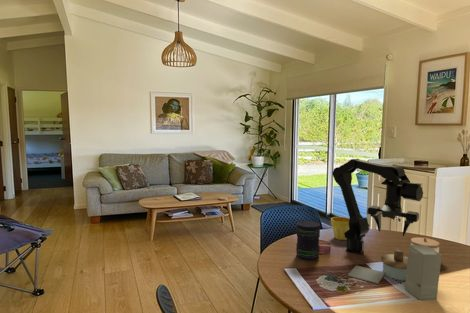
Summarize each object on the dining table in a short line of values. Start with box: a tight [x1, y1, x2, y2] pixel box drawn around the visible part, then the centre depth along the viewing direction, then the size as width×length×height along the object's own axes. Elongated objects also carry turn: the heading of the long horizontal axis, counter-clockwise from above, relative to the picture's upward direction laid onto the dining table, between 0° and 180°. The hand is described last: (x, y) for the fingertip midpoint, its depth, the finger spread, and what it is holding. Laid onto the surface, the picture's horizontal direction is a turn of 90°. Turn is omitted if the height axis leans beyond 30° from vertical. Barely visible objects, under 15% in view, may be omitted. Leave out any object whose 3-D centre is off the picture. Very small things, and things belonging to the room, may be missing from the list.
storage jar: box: [295, 219, 321, 262], centre depth 143 cm, size 10×10×15 cm
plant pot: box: [330, 216, 350, 241], centre depth 169 cm, size 10×10×10 cm
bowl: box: [382, 262, 407, 281], centre depth 127 cm, size 10×10×4 cm
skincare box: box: [404, 244, 443, 301], centre depth 111 cm, size 8×7×16 cm
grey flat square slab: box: [347, 265, 386, 285], centre depth 126 cm, size 11×11×1 cm
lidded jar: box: [410, 237, 441, 253], centre depth 142 cm, size 11×11×9 cm
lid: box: [380, 249, 408, 269], centre depth 126 cm, size 12×12×4 cm
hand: (391, 233), depth 137 cm, fingers open, 9 cm apart
